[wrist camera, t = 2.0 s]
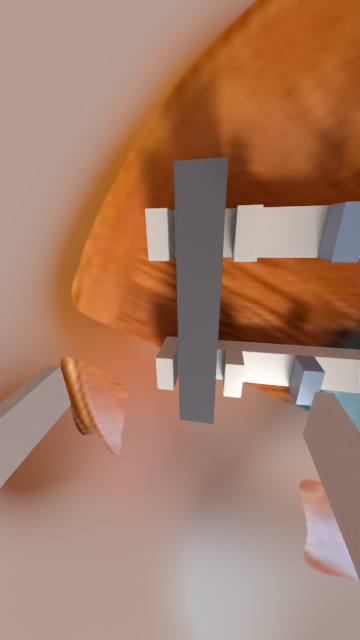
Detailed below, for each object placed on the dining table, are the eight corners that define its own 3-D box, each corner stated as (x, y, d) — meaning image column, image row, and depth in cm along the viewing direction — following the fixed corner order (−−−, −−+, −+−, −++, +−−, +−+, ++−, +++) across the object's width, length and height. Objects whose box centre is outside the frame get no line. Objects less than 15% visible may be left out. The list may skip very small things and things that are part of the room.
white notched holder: (367, 381, 28) (399, 415, 23) (167, 363, 32) (157, 388, 27) (437, 203, 20) (509, 195, 15) (161, 212, 24) (145, 208, 19)
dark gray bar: (214, 396, 30) (213, 423, 26) (185, 393, 30) (179, 419, 26) (227, 171, 20) (228, 156, 16) (183, 174, 20) (173, 160, 16)
